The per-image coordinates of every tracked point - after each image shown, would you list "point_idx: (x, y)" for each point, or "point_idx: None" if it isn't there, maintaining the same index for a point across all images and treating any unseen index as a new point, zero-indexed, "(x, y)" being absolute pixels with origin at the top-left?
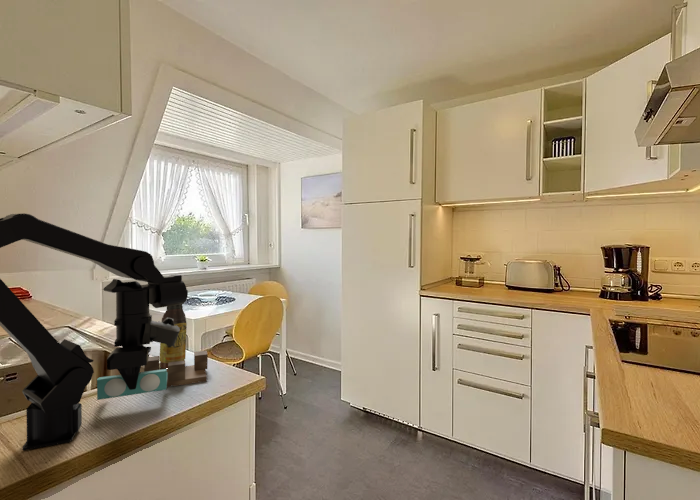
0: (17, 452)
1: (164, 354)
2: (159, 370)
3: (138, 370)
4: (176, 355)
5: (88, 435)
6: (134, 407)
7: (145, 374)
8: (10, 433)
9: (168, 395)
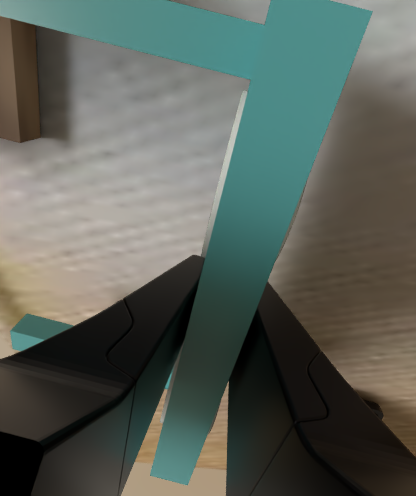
0: None
1: None
2: (269, 111)
3: (353, 400)
4: None
5: (371, 368)
6: None
7: (269, 265)
8: (203, 463)
9: None
